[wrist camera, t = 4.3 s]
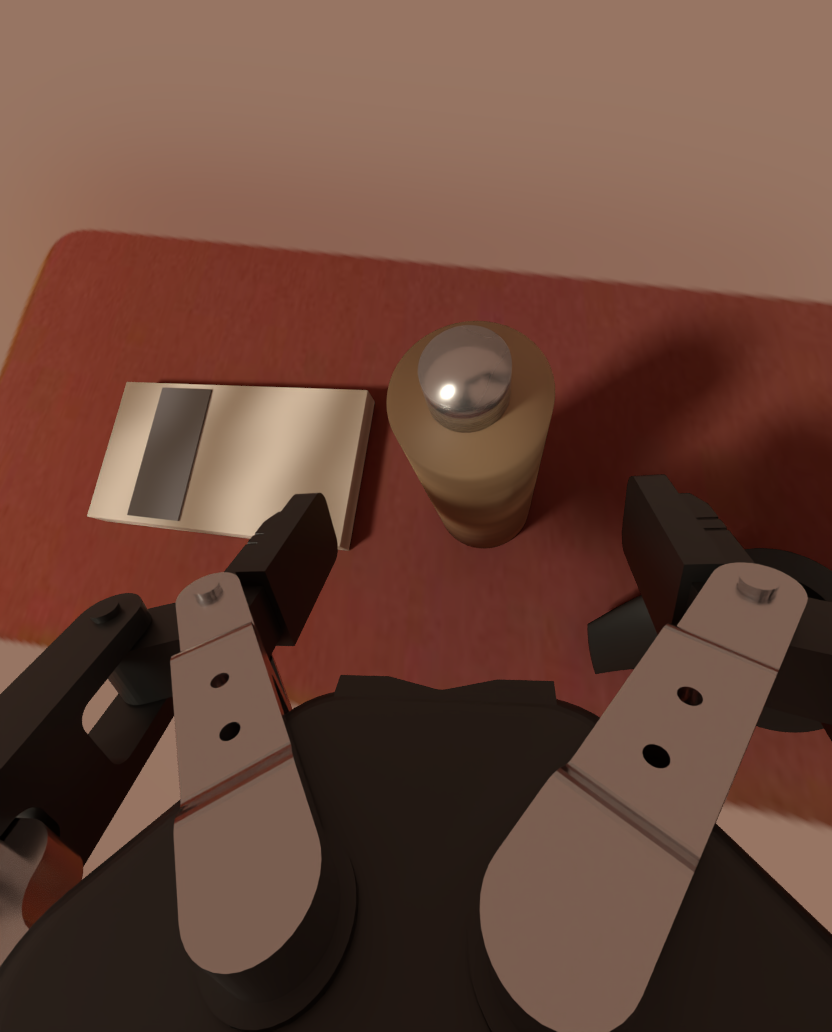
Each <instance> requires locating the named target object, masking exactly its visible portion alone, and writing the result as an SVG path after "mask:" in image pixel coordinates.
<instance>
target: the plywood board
mask: <svg viewBox="0 0 832 1032" xmlns="http://www.w3.org/2000/svg"><path fill="white" fill-rule="evenodd" d="M374 404H375V401H374V400H373V398H372V396H371V395H370V393H369V392H368V390H346V389H317V388H287V387H258V386H228V385H199V384H169V383H140V382H127V383H126V387H125V390H124V393H123V397H122V400H121V404H120V407H119V410H118V414H117V417H116V420H115V424H114V427H113V431H112V434H111V437H110V441H109V444H108V447H107V451H106V454H105V458H104V461H103V464H102V468H101V471H100V474H99V478H98V481H97V485H96V488H95V491H94V495H93V498H92V501H91V505H90V508H89V511H88V515H87V516H88V517H92V518H96V519H100V520H104V521H109V522H117V523H125V524H134V525H142V526H150V527H158V528H167V529H175V530H183V531H191V532H200V533H208V534H216V535H224V536H232V537H241V538H249V539H251V537H252V536H253V535H255V532H256V531H257V530H258V528H259V527H260V526H261V525H262V523H263V522H264V521H266V520H267V519H269V518H270V517H271V516H273V515H274V514H276V513H277V512H281V511H282V509H283V508H284V507H285V505H286V504H287V503H288V501H289V500H290V499H291V498H292V496H293V495H294V494H304V493H322V494H323V495H324V497H325V499H326V501H327V505H328V509H329V512H330V516H331V519H332V523H333V527H334V530H335V534H336V537H337V543H338V549H340V550H348V551H349V547H350V542H351V536H352V530H353V524H354V519H355V513H356V507H357V501H358V496H359V490H360V484H361V479H362V473H363V467H364V461H365V456H366V450H367V444H368V439H369V433H370V427H371V421H372V416H373V410H374Z"/></svg>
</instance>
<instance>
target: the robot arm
mask: <svg viewBox="0 0 832 1032" xmlns="http://www.w3.org/2000/svg"><path fill="white" fill-rule="evenodd" d="M622 544H623V550H624V554H625V556H626V559H627V561H628V564H629V566H630V569H631V571H632V573H633V576H634V578H635V581H636V583H637V586H638V588H639V591H640V593H641V595H642V598H643V600H644V603H645V605H646V608H647V610H648V613H649V615H650V618H651V620H652V622H653V625H654V627H655V630H656V632H657V635H658V636H657V637H656V639H655V640H654V642H653V643H652V644H651V646H650V647H649V649H648V650H647V652H646V653H645V655H644V656H643V657H642V659H641V660H640V662H639V663H638V665H637V666H636V667H635V669H634V670H633V672H632V673H631V675H630V676H629V677H628V679H627V680H626V682H625V683H624V685H623V686H622V688H621V689H620V690H619V692H618V693H617V695H616V696H615V698H614V699H613V700H612V702H611V703H610V705H609V706H608V708H607V709H606V710H605V712H604V713H603V715H602V716H601V718H600V717H598V716H596V715H595V714H593V713H591V712H589V711H587V710H585V709H583V708H581V707H579V706H576V705H573V704H571V703H568V702H565V701H561V700H558V699H556V694H555V687H554V681H528V680H493V681H488V682H483V683H477V684H472V685H467V686H462V687H456V688H451V689H446V690H438V689H433V688H430V687H426V686H422V685H419V684H415V683H411V682H408V681H404V680H400V679H397V678H393V677H389V676H356V675H341V676H340V678H339V681H338V684H337V687H336V690H335V692H333V693H328V694H325V695H322V696H319V697H316V698H314V699H311V700H309V701H307V702H305V703H303V704H301V705H299V706H297V707H295V708H294V709H292V707H291V704H290V701H289V699H288V696H287V693H286V690H285V687H284V685H283V682H282V679H281V676H280V673H279V671H278V668H277V665H276V662H275V660H274V658H273V655H272V652H273V650H274V648H275V646H295V644H296V642H297V640H298V638H299V636H300V633H301V631H302V629H303V627H304V625H305V623H306V621H307V619H308V617H309V615H310V613H311V611H312V608H313V606H314V604H315V602H316V600H317V598H318V596H319V594H320V592H321V590H322V588H323V586H324V584H325V581H326V579H327V577H328V575H329V573H330V571H331V569H332V567H333V565H334V563H335V561H336V558H337V552H338V543H337V537H336V534H335V530H334V527H333V523H332V519H331V516H330V512H329V509H328V505H327V501H326V499H325V497H324V495H323V494H322V493H304V494H294V495H293V496H292V498H291V499H290V500H289V501H288V503H287V504H286V505H285V507H284V508H283V509H282V511H281V512H277V513H276V514H274V515H273V516H271V517H270V518H269V519H267V520H266V521H264V522H263V523H262V525H261V526H260V527H259V528H258V530H257V531H256V532H255V535H253V536H252V537H251V539H250V540H249V541H248V545H245V546H244V547H243V549H242V550H241V551H240V552H239V554H238V555H237V556H236V558H235V559H234V560H233V561H232V563H231V564H230V565H229V566H228V568H227V569H226V570H225V571H224V572H220V573H214V574H210V575H207V576H204V577H202V578H200V579H198V580H196V581H194V582H193V583H191V584H190V585H188V586H187V587H186V588H185V589H184V590H183V591H182V592H181V593H180V594H179V596H178V597H177V600H176V603H172V604H167V605H163V606H159V607H154V608H150V609H147V608H146V606H145V604H144V603H143V601H142V599H141V598H140V597H139V596H138V595H136V594H133V593H125V594H119V595H115V596H112V597H109V598H107V599H104V600H102V601H100V602H98V603H96V604H95V605H93V606H91V607H90V608H88V609H87V610H86V611H84V612H83V613H82V614H81V615H80V616H79V617H78V618H77V619H76V620H75V621H74V622H73V623H72V624H71V625H70V626H69V627H68V628H67V629H66V630H65V631H64V632H63V633H62V634H61V635H60V636H59V637H58V638H57V639H56V640H55V641H54V642H53V643H52V644H51V645H50V646H49V647H48V648H47V649H46V650H45V651H44V652H43V653H42V654H41V655H40V656H39V657H38V658H37V659H36V660H35V661H34V662H33V663H32V664H31V665H30V666H29V667H28V668H26V670H25V671H24V672H22V673H21V674H20V675H19V676H18V678H16V679H15V680H14V681H13V683H11V684H10V685H9V686H8V687H7V688H6V689H5V690H4V691H3V692H2V693H1V694H0V1032H832V934H831V933H830V932H829V931H828V930H827V929H826V928H825V927H823V926H822V925H821V924H820V923H819V922H818V921H817V920H816V919H815V918H814V917H813V916H812V915H811V914H810V913H809V912H808V911H807V910H806V909H804V907H803V906H802V905H800V904H799V903H798V902H797V901H796V900H795V899H794V898H793V897H792V896H791V895H790V894H789V893H788V892H787V891H786V890H785V889H784V888H783V887H782V886H781V885H780V884H778V883H777V881H775V880H774V879H773V878H772V877H771V876H770V875H769V874H768V873H767V872H766V871H765V870H764V869H763V868H762V867H761V866H760V865H759V864H758V863H757V862H756V861H755V860H754V859H752V858H751V857H750V856H749V855H748V854H747V853H746V852H745V851H744V850H743V849H742V848H741V847H740V846H739V845H738V844H737V843H736V842H735V841H734V840H733V839H731V837H730V836H728V835H727V834H726V833H725V832H724V831H723V830H722V829H721V828H720V827H719V826H718V825H717V824H716V821H717V819H718V816H719V814H720V812H721V809H722V807H723V804H724V802H725V799H726V797H727V795H728V792H729V790H730V787H731V785H732V783H733V780H734V778H735V775H736V773H737V770H738V768H739V766H740V763H741V761H742V758H743V756H744V754H745V751H746V749H747V746H748V744H749V742H750V739H751V737H752V734H753V732H754V730H755V727H756V725H757V722H758V720H759V718H760V715H761V713H762V710H763V708H764V707H768V708H771V709H775V710H779V711H782V712H786V713H790V714H793V715H797V716H800V717H804V718H808V719H811V720H815V721H819V722H821V724H822V726H823V727H824V729H825V731H826V732H827V734H828V736H829V738H830V739H831V741H832V602H828V601H823V600H818V599H813V598H810V597H807V593H806V591H805V589H804V588H803V587H802V585H801V584H799V583H798V582H797V581H796V580H795V579H793V578H792V577H790V576H789V575H787V574H785V573H783V572H781V571H779V570H776V569H774V568H771V567H768V566H764V565H760V564H755V563H754V561H753V560H752V559H751V558H750V556H749V555H748V554H747V553H746V551H745V550H744V549H743V547H742V546H741V545H740V544H739V542H738V541H737V540H736V539H735V537H734V536H733V535H732V534H731V532H730V531H729V530H727V527H726V526H725V525H724V523H723V522H722V521H721V520H720V519H718V516H717V515H716V513H715V512H714V511H713V510H712V508H711V507H710V506H709V504H707V503H706V502H704V501H702V500H701V499H699V498H697V497H695V496H694V495H692V494H690V493H681V494H679V493H678V492H677V490H676V489H675V488H674V486H673V485H672V483H671V482H670V481H669V479H668V478H667V476H666V475H664V474H661V475H643V476H631V477H630V478H629V480H628V484H627V492H626V500H625V509H624V517H623V526H622ZM107 679H109V681H110V682H111V684H112V685H113V686H114V687H115V689H116V690H117V692H118V693H119V694H118V695H117V697H116V698H115V699H114V700H113V702H112V703H111V704H110V706H109V707H108V708H107V710H106V711H105V712H104V714H103V715H102V716H101V718H100V719H99V720H98V722H97V723H96V725H95V726H94V727H93V728H92V730H91V731H90V732H89V734H87V733H86V732H85V730H84V729H83V726H82V715H83V712H84V709H85V707H86V705H87V704H88V702H89V701H90V700H91V698H92V697H93V696H94V695H95V693H96V692H97V691H98V690H99V688H100V687H101V686H102V685H103V684H104V682H105V681H106V680H107ZM173 716H174V717H175V732H176V745H177V758H178V770H179V771H178V772H179V785H180V798H181V799H180V800H179V801H178V802H177V803H175V804H174V805H173V806H172V807H171V808H170V809H168V810H167V811H166V812H164V813H163V814H162V815H161V816H160V817H158V818H157V819H156V820H155V821H153V822H152V823H151V824H150V825H149V826H147V827H146V828H145V829H144V830H143V831H141V832H140V833H139V834H138V835H136V836H135V837H134V838H133V839H132V840H130V841H129V842H128V843H127V844H125V845H124V846H123V847H122V848H121V849H119V850H118V851H117V852H116V853H115V854H113V855H112V856H111V857H110V858H108V859H107V860H106V861H105V862H104V863H102V864H101V865H100V866H99V867H97V868H96V869H95V870H94V871H92V872H91V873H90V874H89V875H88V876H86V877H85V878H84V879H83V880H82V876H83V867H84V865H85V863H86V862H87V860H88V858H89V857H90V855H91V853H92V851H93V850H94V848H95V847H96V845H97V843H98V842H99V840H100V838H101V837H102V835H103V833H104V832H105V830H106V828H107V827H108V825H109V823H110V822H111V820H112V818H113V817H114V815H115V813H116V811H117V810H118V808H119V807H120V805H121V803H122V802H123V800H124V798H125V796H126V795H127V793H128V791H129V790H130V788H131V787H132V785H133V783H134V782H135V780H136V778H137V777H138V775H139V773H140V772H141V770H142V768H143V767H144V765H145V763H146V762H147V760H148V758H149V757H150V755H151V753H152V752H153V750H154V748H155V746H156V745H157V743H158V741H159V740H160V738H161V736H162V735H163V733H164V731H165V730H166V728H167V727H168V725H169V723H170V722H171V719H172V718H173Z"/></svg>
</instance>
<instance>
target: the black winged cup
mask: <svg viewBox="0 0 832 1032" xmlns="http://www.w3.org/2000/svg"><path fill="white" fill-rule="evenodd" d="M745 551H746V553H747V554H748V555H749V556H750V558H751V559H752V560H753V561H754V563H755V564H760V565H764V566H768V567H771V568H774V569H776V570H779V571H781V572H783V573H785V574H787V575H789V576H790V577H792V578H793V579H795V580H796V581H797V582H798V583H799V584H801V585H802V587H803V588H804V589H805V591H806V593H807V597H810V598H813V599H818V600H823V601H828V602H832V571H831V570H829V569H828V568H826V567H824V566H823V565H821V564H819V563H817V562H815V561H813V560H811V559H809V558H807V557H804V556H801V555H798V554H795V553H792V552H788V551H783V550H777V549H767V548H754V549H745ZM657 636H658V635H657V632H656V630H655V627H654V625H653V622H652V620H651V618H650V615H649V613H648V610H647V608H646V605H645V603H644V600H643V598H642V595H640V596H638V597H636V598H634V599H632V600H630V601H628V602H626V603H624V604H622V605H620V606H619V607H617V608H615V609H613V610H611V611H610V612H608V613H606V614H604V615H602V616H601V617H599V618H597V619H595V620H594V621H592V622H590V623H589V624H588V643H589V650H590V655H591V660H592V664H593V668H594V671H595V674H599V673H605V672H611V671H618V670H627V669H635V667H636V666H637V665H638V663H639V662H640V660H641V659H642V657H643V656H644V655H645V653H646V652H647V650H648V649H649V647H650V646H651V644H652V643H653V642H654V640H655V639H656V637H657ZM756 726H758V727H762V728H765V729H769V730H774V731H781V732H809V731H815V730H819V729H823V728H824V727H823V726H822V724H821V722H819V721H815V720H811V719H808V718H804V717H800V716H797V715H793V714H790V713H786V712H782V711H779V710H775V709H771V708H768V707H764V708H763V710H762V713H761V715H760V718H759V720H758V722H757V725H756Z"/></svg>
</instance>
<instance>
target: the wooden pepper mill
mask: <svg viewBox="0 0 832 1032" xmlns="http://www.w3.org/2000/svg"><path fill="white" fill-rule="evenodd" d="M554 400H555V383H554V377H553V374H552V370H551V367H550V365H549V363H548V361H547V359H546V357H545V356H544V354H543V353H542V351H541V350H540V349H539V348H538V347H537V346H536V344H535V343H534V342H533V341H531V340H530V339H529V338H528V337H526V336H525V335H523V334H522V333H520V332H518V331H517V330H515V329H512V328H510V327H508V326H505V325H501V324H498V323H493V322H487V321H468V322H461V323H455V324H452V325H448V326H445V327H443V328H440V329H438V330H435V331H434V332H432V333H430V334H428V335H426V336H425V337H423V338H422V339H421V340H419V341H418V342H417V343H416V344H414V345H413V346H412V347H411V348H410V349H409V350H408V351H407V352H406V354H405V355H404V356H403V357H402V359H401V360H400V362H399V363H398V364H397V366H396V368H395V370H394V372H393V374H392V377H391V380H390V382H389V387H388V391H387V401H386V403H387V414H388V419H389V423H390V425H391V428H392V431H393V433H394V434H395V436H396V438H397V440H398V442H399V444H400V445H401V447H402V449H403V451H404V453H405V455H406V456H407V458H408V460H409V462H410V464H411V465H412V467H413V469H414V471H415V473H416V474H417V476H418V478H419V480H420V482H421V484H422V485H423V487H424V489H425V491H426V493H427V494H428V496H429V498H430V500H431V502H432V503H433V505H434V507H435V509H436V511H437V512H438V514H439V516H440V518H441V520H442V522H443V523H444V525H445V527H446V529H447V530H448V531H449V533H450V534H451V535H452V536H453V537H454V538H456V539H457V540H458V541H460V542H462V543H464V544H466V545H468V546H471V547H476V548H492V547H497V546H500V545H502V544H504V543H506V542H508V541H510V540H511V539H512V538H514V537H515V536H516V535H517V534H518V533H519V532H520V530H521V529H522V528H523V526H524V524H525V522H526V520H527V517H528V513H529V509H530V505H531V500H532V496H533V492H534V488H535V483H536V479H537V475H538V471H539V466H540V462H541V458H542V454H543V449H544V445H545V441H546V437H547V432H548V428H549V424H550V420H551V416H552V411H553V407H554Z"/></svg>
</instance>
